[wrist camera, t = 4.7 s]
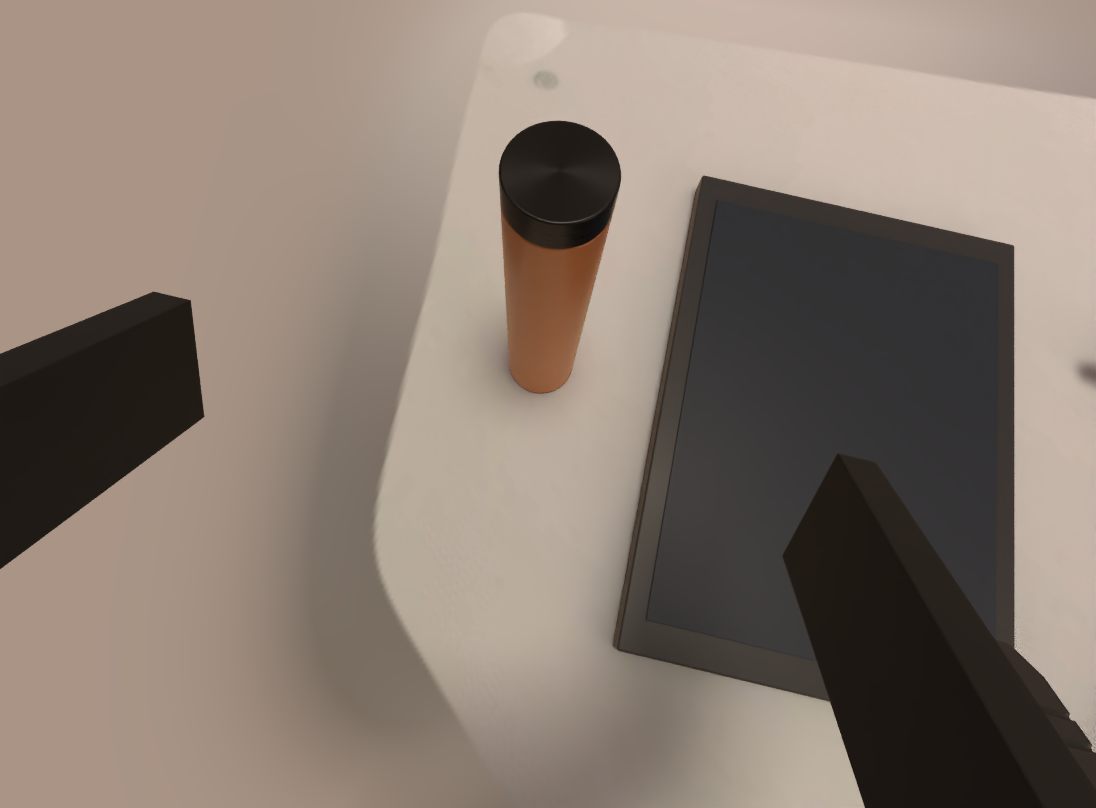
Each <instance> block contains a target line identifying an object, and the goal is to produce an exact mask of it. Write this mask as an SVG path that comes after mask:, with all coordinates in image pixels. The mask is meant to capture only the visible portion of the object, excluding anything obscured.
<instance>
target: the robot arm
mask: <svg viewBox="0 0 1096 808" xmlns="http://www.w3.org/2000/svg"><path fill="white" fill-rule="evenodd" d="M203 417H204V411H203V403H202V394H201V385H200V377H199V368H198V360H197V351H196V342H195V334H194V325H193V317H192V308H191V300H187V299H183V298H178V297H174V296H169V295H165V294H161V293H157V292H152V293H149V294H147V295H144V296H142V297H139V298H137V299H134V300H132V301H130V302H127V303H125V304H122V305H120V306H117V307H115V308H112V309H110V310H107V311H105V312H102V313H100V314H98V315H95V316H93V317H90V318H88V319H85V320H83V321H80V322H78V323H75V324H73V325H71V326H68V327H65V328H63V329H61V330H58V331H56V332H53V333H51V334H48V335H46V336H43V337H41V338H38V339H36V340H33V341H31V342H29V343H26V344H23V345H21V346H19V347H16V348H14V349H11V350H9V351H6V352H4V353H1V354H0V569H1V568H2V567H4V566H5V565H6V564H7V563H9V562H10V561H12V560H13V559H14V558H16V557H17V556H18V555H20V554H21V553H22V552H24V551H25V550H26V549H28V548H29V547H31V546H32V545H33V544H34V543H36V542H37V541H39V540H40V539H41V538H42V537H44V536H45V535H46V534H48V533H49V532H51V531H52V530H53V529H55V528H56V527H57V526H58V525H60V524H61V523H63V522H64V521H65V520H67V519H68V518H69V517H71V516H72V515H73V514H75V513H76V512H77V511H79V510H80V509H81V508H82V507H84V506H85V505H87V504H88V503H89V502H91V501H92V500H93V499H95V498H96V497H97V496H99V495H100V494H101V493H103V492H104V491H106V490H107V489H108V488H109V487H111V486H112V485H114V484H115V483H116V482H118V481H119V480H120V479H122V478H123V477H124V476H126V475H127V474H128V473H130V472H131V471H132V470H134V469H135V468H136V467H138V466H139V465H140V464H142V463H143V462H144V461H146V460H147V459H148V458H150V457H151V456H152V455H154V454H155V453H157V452H158V451H159V450H160V449H162V448H163V447H164V446H166V445H167V444H169V443H170V442H171V441H173V440H174V439H175V438H176V437H178V436H179V435H181V434H182V433H183V432H184V431H186V430H187V429H189V428H190V427H191V426H193V425H194V424H195V423H197V422H198V421H199V420H201V419H202V418H203ZM782 557H783V560H784V563H785V566H786V569H787V572H788V575H789V578H790V581H791V584H792V587H793V590H794V593H795V596H796V599H797V602H798V605H799V608H800V611H801V614H802V617H803V620H804V623H805V627H806V630H807V633H808V636H809V639H810V642H811V645H812V648H813V651H814V654H815V657H816V660H817V663H818V666H819V669H820V672H821V675H822V678H823V681H824V684H825V687H826V690H827V693H828V696H829V699H830V703H831V706H832V709H833V712H834V715H835V718H836V721H837V724H838V727H839V730H840V733H841V736H842V739H843V742H844V745H845V748H846V751H847V754H848V757H849V760H850V763H851V766H852V769H853V772H854V775H855V778H856V782H857V785H858V788H859V791H860V794H861V797H862V800H863V803H864V806H865V808H1096V753H1095V752H1092V749H1091V746H1092V744H1091V743H1090V741H1089V740H1088V738H1087V737H1086V736H1085V734H1084V733H1083V731H1082V730H1081V729H1080V727H1079V726H1078V724H1077V723H1076V722H1075V721H1072V720H1070V718H1069V715H1070V713H1069V712H1068V710H1067V709H1066V708H1065V706H1064V705H1063V703H1062V702H1061V701H1060V699H1059V698H1058V696H1057V695H1056V694H1055V692H1054V691H1053V689H1052V688H1051V686H1050V685H1049V684H1048V682H1047V681H1046V679H1045V678H1044V677H1043V676H1042V675H1041V674H1040V673H1039V672H1038V671H1037V670H1036V669H1035V668H1034V667H1033V666H1032V665H1031V664H1030V663H1029V662H1028V661H1026V660H1025V659H1024V658H1023V657H1022V656H1021V655H1020V654H1019V653H1018V652H1017V651H1016V650H1015V649H1014V648H1013V647H1012V646H1011V645H1010V644H1009V643H1006V642H1002V641H997V640H995V639H994V637H993V636H992V634H991V633H990V631H989V630H988V628H987V627H986V625H985V624H984V622H983V621H982V619H981V618H980V616H979V615H978V613H977V612H976V610H975V609H974V607H973V606H972V604H971V603H970V601H969V600H968V598H967V597H966V596H965V594H964V593H963V591H962V590H961V588H960V587H959V585H958V584H957V582H956V581H955V579H954V578H953V576H952V575H951V573H950V572H949V570H948V569H947V567H946V566H945V564H944V563H943V561H942V560H941V558H940V557H939V555H938V554H937V552H936V551H935V549H934V548H933V546H932V545H931V543H930V542H929V540H928V539H927V537H926V536H925V534H924V533H923V531H922V530H921V528H920V527H919V525H918V524H917V523H916V521H915V520H914V518H913V517H912V515H911V514H910V512H909V511H908V509H907V508H906V506H905V505H904V503H903V502H902V500H901V499H900V497H899V496H898V494H897V493H896V491H895V490H894V488H893V487H892V485H891V484H890V482H889V481H888V479H887V478H886V476H885V475H884V473H883V472H882V470H881V469H880V467H879V466H878V464H877V463H876V462H873V461H869V460H864V459H860V458H856V457H852V456H847V455H843V454H839V453H837V455H836V457H835V459H834V460H833V462H832V464H831V466H830V468H829V470H828V472H827V473H826V475H825V477H824V479H823V481H822V483H821V485H820V486H819V488H818V490H817V492H816V494H815V496H814V498H813V499H812V501H811V503H810V505H809V507H808V509H807V511H806V512H805V514H804V516H803V518H802V520H801V522H800V524H799V525H798V527H797V529H796V531H795V533H794V535H793V536H792V538H791V540H790V542H789V544H788V546H787V548H786V549H785V551H784V553H783V555H782Z"/></svg>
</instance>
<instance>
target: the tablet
mask: <svg viewBox="0 0 1096 808" xmlns="http://www.w3.org/2000/svg"><path fill="white" fill-rule="evenodd" d="M837 453H839V454H843V455H847V456H852V457H856V458H860V459H864V460H869V461H873V462H876V463H877V464H878V466H879V467H880V469H881V470H882V472H883V473H884V475H885V476H886V478H887V479H888V481H889V482H890V484H891V485H892V487H893V488H894V490H895V491H896V493H897V494H898V496H899V497H900V499H901V500H902V502H903V503H904V505H905V506H906V508H907V509H908V511H909V512H910V514H911V515H912V517H913V518H914V520H915V521H916V523H917V524H918V525H919V527H920V528H921V530H922V531H923V533H924V534H925V536H926V537H927V539H928V540H929V542H930V543H931V545H932V546H933V548H934V549H935V551H936V552H937V554H938V555H939V557H940V558H941V560H942V561H943V563H944V564H945V566H946V567H947V569H948V570H949V572H950V573H951V575H952V576H953V578H954V579H955V581H956V582H957V584H958V585H959V587H960V588H961V590H962V591H963V593H964V594H965V596H966V597H967V598H968V600H969V601H970V603H971V604H972V606H973V607H974V609H975V610H976V612H977V613H978V615H979V616H980V618H981V619H982V621H983V622H984V624H985V625H986V627H987V628H988V630H989V631H990V633H991V634H992V636H993V637H994V639H995V640H997V641H1002V642H1006V643H1009V644H1010V645H1011V646H1012V647H1013V648H1014V246H1013V245H1009V244H1005V243H1001V242H996V241H992V240H987V239H983V238H978V237H974V236H970V235H965V234H961V233H956V232H952V231H947V230H943V229H939V228H934V227H930V226H925V225H921V224H916V223H912V222H908V221H903V220H899V219H894V218H890V217H885V216H881V215H876V214H872V213H868V212H863V211H859V210H854V209H850V208H845V207H841V206H837V205H832V204H828V203H823V202H819V201H814V200H810V199H806V198H801V197H797V196H792V195H788V194H783V193H779V192H775V191H770V190H766V189H761V188H757V187H752V186H748V185H744V184H739V183H735V182H730V181H726V180H721V179H717V178H713V177H708V176H703V177H702V178H701V180H700V183H699V185H698V187H697V189H696V194H695V200H694V205H693V211H692V216H691V222H690V227H689V232H688V238H687V243H686V249H685V254H684V260H683V265H682V271H681V276H680V282H679V287H678V293H677V298H676V304H675V309H674V314H673V320H672V325H671V331H670V336H669V342H668V347H667V353H666V358H665V364H664V369H663V375H662V380H661V386H660V391H659V396H658V402H657V407H656V413H655V418H654V424H653V429H652V435H651V440H650V446H649V451H648V457H647V462H646V468H645V473H644V479H643V484H642V489H641V495H640V500H639V506H638V511H637V517H636V522H635V528H634V533H633V539H632V544H631V550H630V555H629V561H628V566H627V571H626V577H625V582H624V588H623V593H622V599H621V604H620V610H619V615H618V621H617V626H616V632H615V637H614V643H613V646H614V647H615V648H616V649H617V650H619V651H623V652H627V653H631V654H635V655H639V656H643V657H647V658H652V659H656V660H660V661H664V662H668V663H672V664H676V665H681V666H685V667H689V668H693V669H697V670H701V671H706V672H710V673H714V674H718V675H722V676H726V677H730V678H735V679H739V680H743V681H747V682H751V683H755V684H760V685H764V686H768V687H772V688H776V689H780V690H784V691H789V692H793V693H797V694H801V695H805V696H809V697H814V698H818V699H822V700H826V701H830V699H829V696H828V693H827V690H826V687H825V684H824V681H823V678H822V675H821V672H820V669H819V666H818V663H817V660H816V657H815V654H814V651H813V648H812V645H811V642H810V639H809V636H808V633H807V630H806V627H805V623H804V620H803V617H802V614H801V611H800V608H799V605H798V602H797V599H796V596H795V593H794V590H793V587H792V584H791V581H790V578H789V575H788V572H787V569H786V566H785V563H784V560H783V557H782V555H783V553H784V551H785V549H786V548H787V546H788V544H789V542H790V540H791V538H792V536H793V535H794V533H795V531H796V529H797V527H798V525H799V524H800V522H801V520H802V518H803V516H804V514H805V512H806V511H807V509H808V507H809V505H810V503H811V501H812V499H813V498H814V496H815V494H816V492H817V490H818V488H819V486H820V485H821V483H822V481H823V479H824V477H825V475H826V473H827V472H828V470H829V468H830V466H831V464H832V462H833V460H834V459H835V457H836V455H837Z"/></svg>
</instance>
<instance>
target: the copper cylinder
mask: <svg viewBox="0 0 1096 808" xmlns="http://www.w3.org/2000/svg"><path fill="white" fill-rule="evenodd" d="M620 182H621V169H620V164H619V161H618V158H617V156H616V154H615V152H614V150H613V149H612V147H611V146H610V144H609V143H608V142H607V141H606V140H605V139H604V138H603V137H602V136H601V135H599V134H598V133H596V132H595V131H593V130H591V129H590V128H588V127H585V126H583V125H580V124H577V123H573V122H567V121H548V122H542V123H539V124H535V125H533V126H530V127H528V128H526V129H524V130H523V131H521V132H520V133H519V134H517V135H516V136H515V137H514V138H513V139H512V140H511V141H510V142H509V144H508V145H507V146H506V148H505V150H504V152H503V154H502V157H501V160H500V164H499V185H500V203H501V221H502V240H503V258H504V276H505V295H506V313H507V331H508V349H509V366H510V371H511V374H512V376H513V378H514V379H515V381H516V382H517V383H518V384H519V385H520V386H522V387H523V388H525V389H526V390H529V391H532V392H536V393H547V392H551V391H554V390H556V389H558V388H559V387H561V386H562V385H563V384H564V383H565V382H566V381H567V379H568V378H569V376H570V374H571V370H572V367H573V363H574V359H575V355H576V351H577V348H578V344H579V340H580V336H581V332H582V329H583V325H584V321H585V317H586V313H587V310H588V306H589V302H590V298H591V294H592V290H593V287H594V283H595V279H596V275H597V271H598V268H599V264H600V260H601V256H602V252H603V249H604V245H605V241H606V237H607V233H608V230H609V226H610V222H611V218H612V214H613V210H614V207H615V203H616V199H617V195H618V191H619V188H620Z"/></svg>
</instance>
